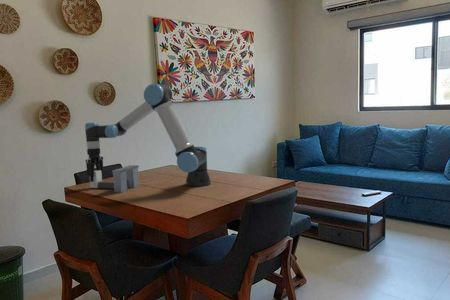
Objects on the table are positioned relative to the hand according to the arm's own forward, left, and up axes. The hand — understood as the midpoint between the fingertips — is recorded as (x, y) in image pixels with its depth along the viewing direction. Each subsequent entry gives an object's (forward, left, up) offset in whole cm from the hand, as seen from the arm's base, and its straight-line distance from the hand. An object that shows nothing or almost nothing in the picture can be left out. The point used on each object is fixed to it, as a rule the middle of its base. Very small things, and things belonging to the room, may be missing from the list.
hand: (96, 185), depth 231 cm
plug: (-7, 0, -1) cm, 7 cm away
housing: (-22, 0, -1) cm, 22 cm away
